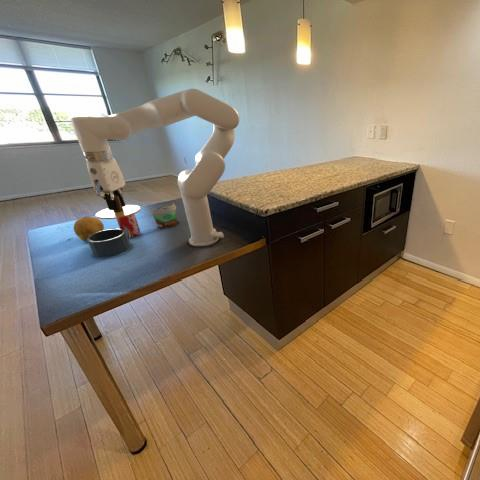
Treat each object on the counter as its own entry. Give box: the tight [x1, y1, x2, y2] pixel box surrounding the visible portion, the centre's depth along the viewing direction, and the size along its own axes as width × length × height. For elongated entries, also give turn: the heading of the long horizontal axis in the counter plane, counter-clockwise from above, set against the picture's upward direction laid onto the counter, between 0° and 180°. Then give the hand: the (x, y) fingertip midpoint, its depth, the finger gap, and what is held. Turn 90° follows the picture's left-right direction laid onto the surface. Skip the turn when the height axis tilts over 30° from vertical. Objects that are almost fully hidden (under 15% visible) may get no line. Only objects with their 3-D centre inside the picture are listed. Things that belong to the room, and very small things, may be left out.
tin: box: [86, 227, 132, 258], centre depth 108 cm, size 13×13×8 cm
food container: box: [150, 202, 178, 229], centre depth 131 cm, size 12×6×10 cm, turn 148°
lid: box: [95, 195, 142, 220], centre depth 95 cm, size 14×14×7 cm
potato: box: [73, 216, 105, 242], centre depth 118 cm, size 10×12×10 cm
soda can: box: [116, 214, 141, 239], centre depth 119 cm, size 7×7×12 cm
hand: (117, 207), depth 96 cm, fingers closed on lid, 3 cm apart
